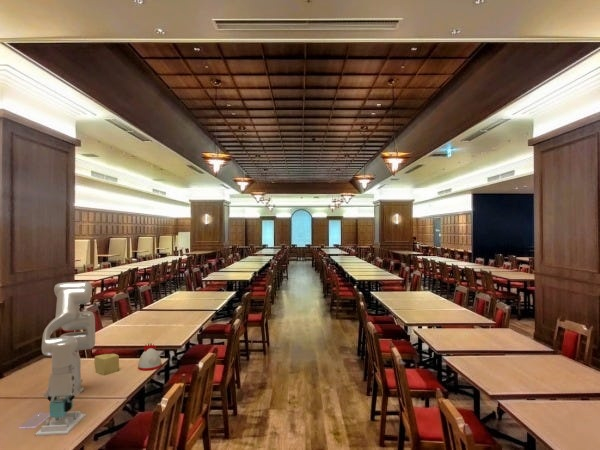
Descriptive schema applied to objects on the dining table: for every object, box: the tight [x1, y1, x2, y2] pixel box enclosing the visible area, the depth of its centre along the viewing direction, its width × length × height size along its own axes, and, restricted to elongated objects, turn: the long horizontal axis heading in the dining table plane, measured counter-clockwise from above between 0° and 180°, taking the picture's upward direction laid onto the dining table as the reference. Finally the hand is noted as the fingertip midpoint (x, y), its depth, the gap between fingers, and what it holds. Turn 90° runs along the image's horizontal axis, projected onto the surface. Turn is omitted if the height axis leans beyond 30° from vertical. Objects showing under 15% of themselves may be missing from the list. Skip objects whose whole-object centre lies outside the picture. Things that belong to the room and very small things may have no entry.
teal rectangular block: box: [49, 394, 74, 419], centre depth 182 cm, size 10×5×6 cm, turn 4°
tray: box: [34, 409, 87, 437], centre depth 182 cm, size 18×13×4 cm
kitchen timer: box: [137, 343, 162, 372], centre depth 260 cm, size 14×14×15 cm
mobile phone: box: [18, 411, 50, 430], centre depth 187 cm, size 8×1×15 cm
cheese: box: [93, 353, 120, 376], centre depth 252 cm, size 10×11×10 cm
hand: (61, 410), depth 182 cm, fingers closed on teal rectangular block, 5 cm apart
